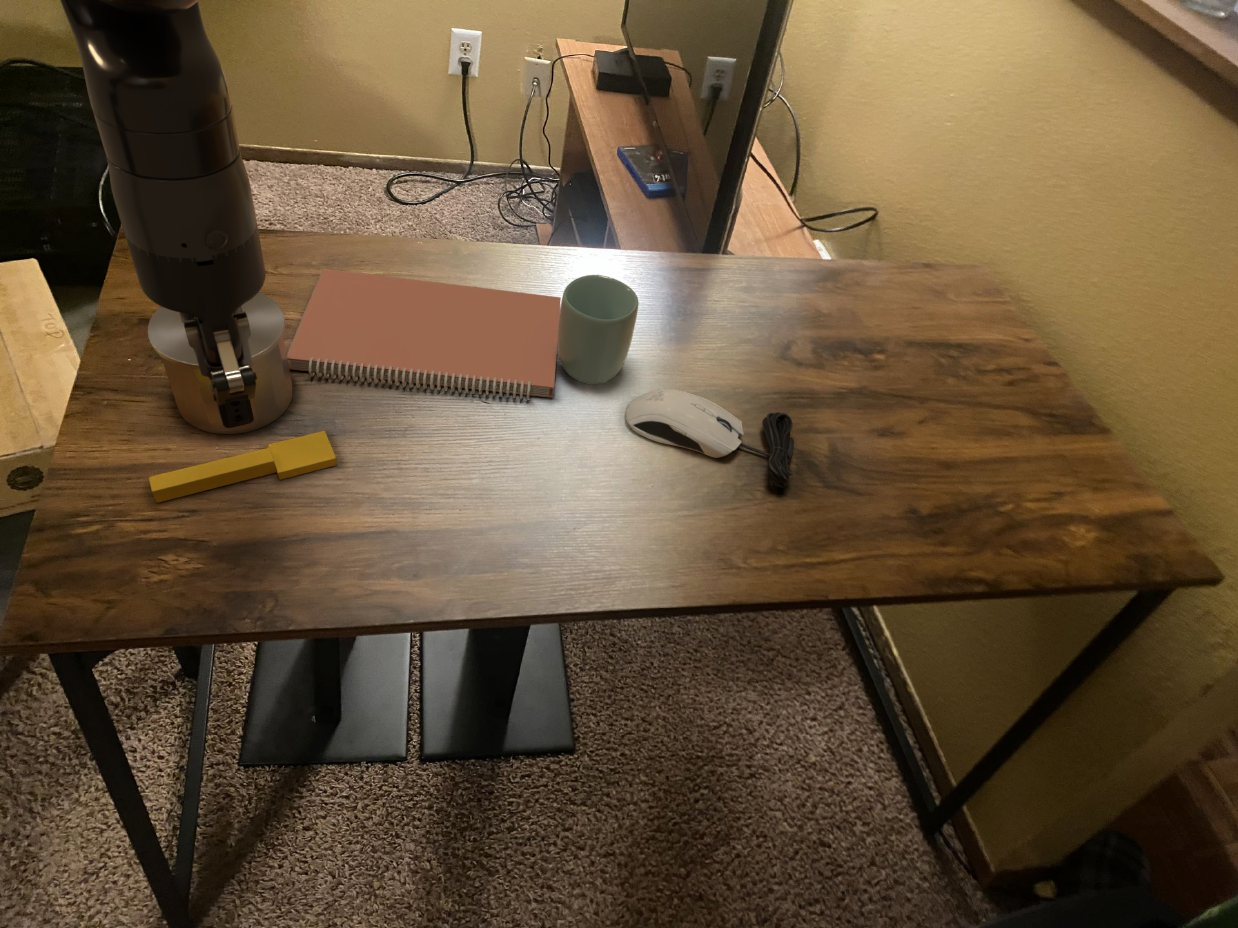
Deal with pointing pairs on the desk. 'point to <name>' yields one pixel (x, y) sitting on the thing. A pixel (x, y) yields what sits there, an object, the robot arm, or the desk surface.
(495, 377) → the notebook
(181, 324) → the pot lid
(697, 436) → the computer mouse
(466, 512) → the desk surface
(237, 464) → the stepped yellow stick
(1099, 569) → the desk surface
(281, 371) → the pot
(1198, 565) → the desk surface
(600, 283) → the cup
